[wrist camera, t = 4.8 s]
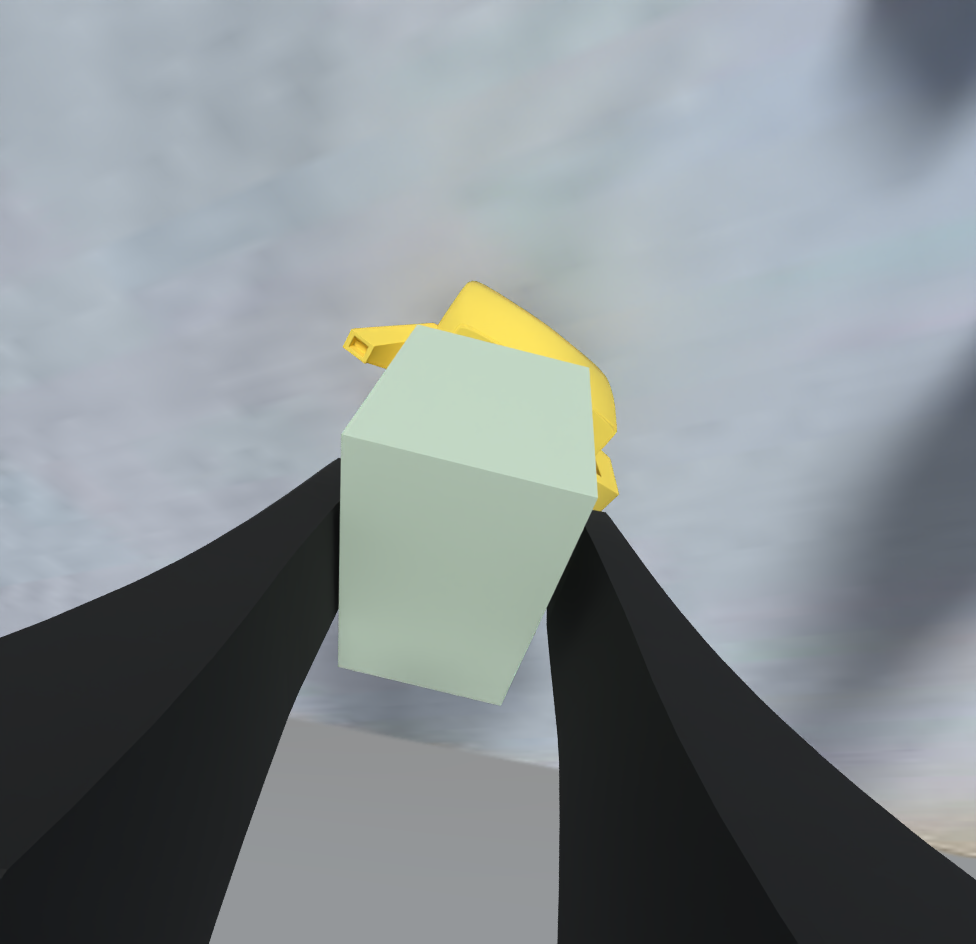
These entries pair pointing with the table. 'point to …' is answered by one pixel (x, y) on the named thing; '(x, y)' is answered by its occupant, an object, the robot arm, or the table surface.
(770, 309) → the table surface
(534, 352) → the teapot
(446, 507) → the sage brick
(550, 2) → the table surface
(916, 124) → the table surface
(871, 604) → the table surface
